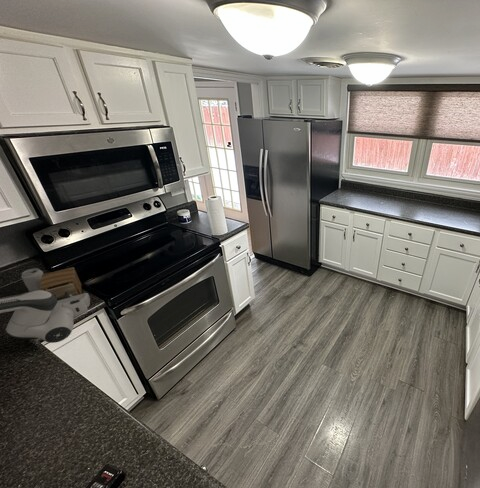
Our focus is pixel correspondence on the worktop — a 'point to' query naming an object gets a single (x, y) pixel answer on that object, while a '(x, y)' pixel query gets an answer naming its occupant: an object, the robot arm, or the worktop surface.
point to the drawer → (62, 290)
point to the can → (32, 279)
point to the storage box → (61, 279)
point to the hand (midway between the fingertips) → (60, 298)
